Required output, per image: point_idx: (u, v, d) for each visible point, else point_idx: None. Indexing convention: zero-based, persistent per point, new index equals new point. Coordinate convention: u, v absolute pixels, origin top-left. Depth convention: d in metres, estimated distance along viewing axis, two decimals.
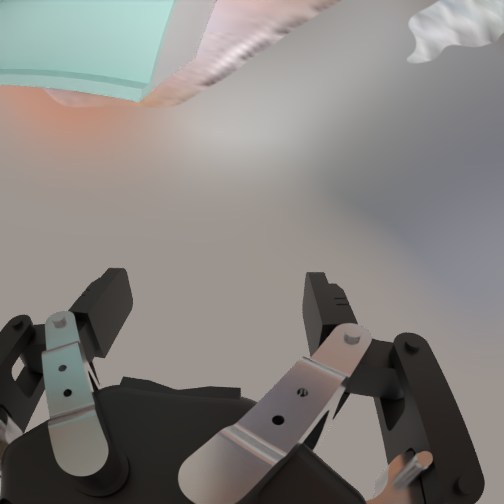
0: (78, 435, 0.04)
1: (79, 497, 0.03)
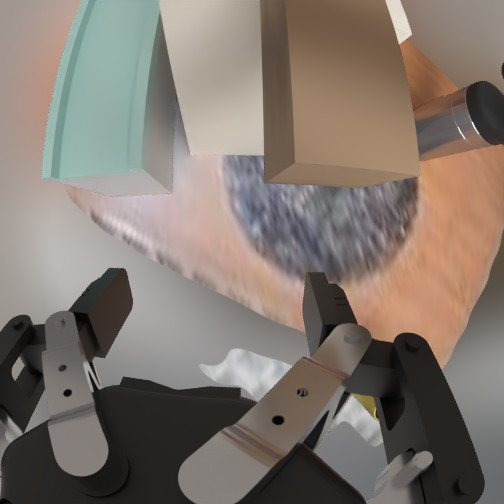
0: (77, 435, 0.04)
1: (79, 497, 0.03)
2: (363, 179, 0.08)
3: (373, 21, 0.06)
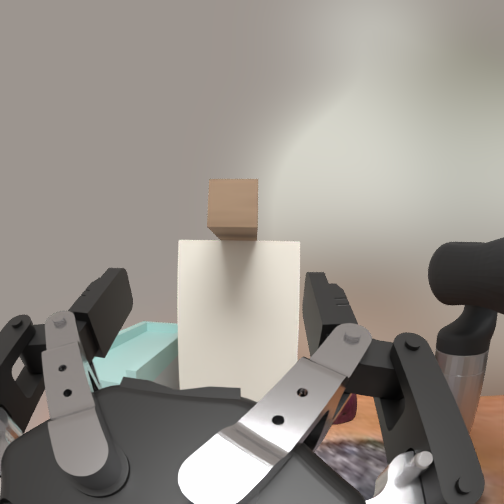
0: (78, 435, 0.04)
1: (79, 497, 0.03)
2: (244, 199, 0.21)
3: None
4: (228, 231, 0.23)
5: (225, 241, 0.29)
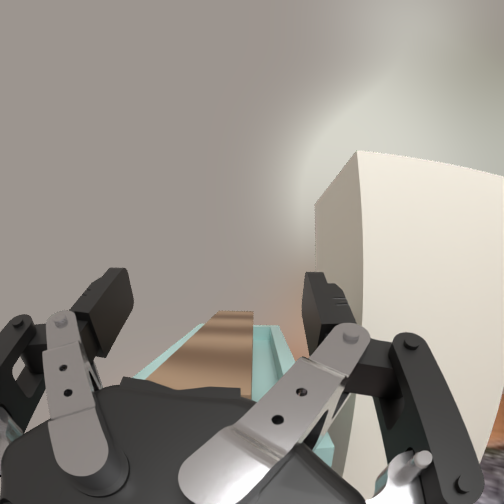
0: (77, 435, 0.04)
1: (79, 497, 0.03)
2: None
3: (235, 354, 0.13)
4: None
5: (430, 162, 0.14)
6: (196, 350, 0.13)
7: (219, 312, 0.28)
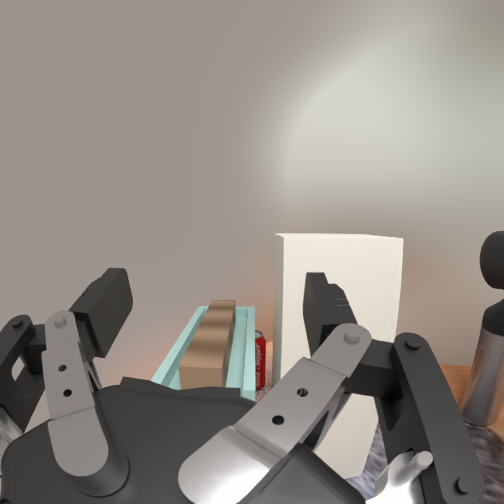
0: (77, 435, 0.04)
1: (79, 497, 0.03)
2: (210, 384, 0.22)
3: (218, 344, 0.27)
4: None
5: (334, 238, 0.26)
6: (199, 342, 0.27)
7: (212, 302, 0.42)
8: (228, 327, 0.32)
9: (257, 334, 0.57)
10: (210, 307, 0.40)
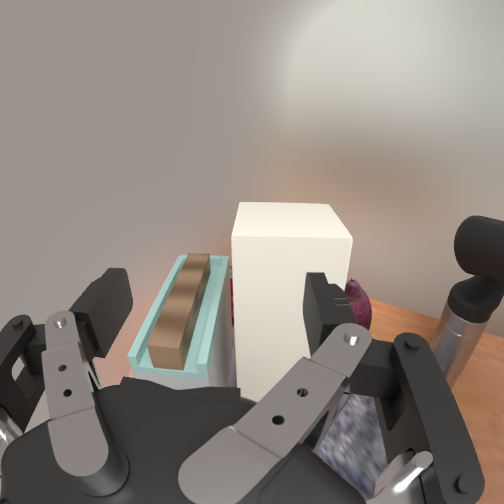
0: (77, 435, 0.04)
1: (79, 497, 0.03)
2: (172, 357, 0.29)
3: (181, 318, 0.33)
4: None
5: (280, 237, 0.29)
6: (166, 316, 0.33)
7: (187, 257, 0.47)
8: (194, 295, 0.37)
9: None
10: (184, 265, 0.44)
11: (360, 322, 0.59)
